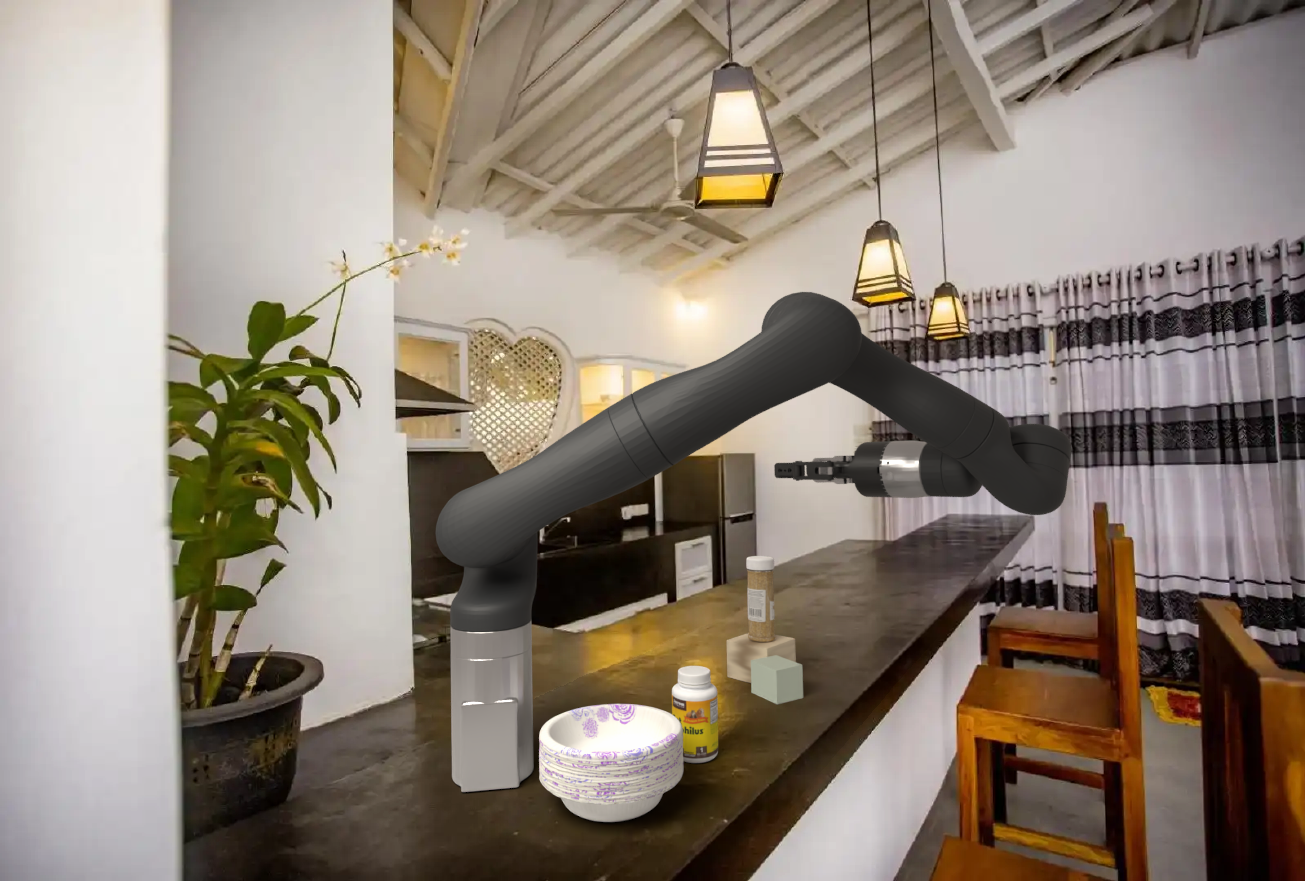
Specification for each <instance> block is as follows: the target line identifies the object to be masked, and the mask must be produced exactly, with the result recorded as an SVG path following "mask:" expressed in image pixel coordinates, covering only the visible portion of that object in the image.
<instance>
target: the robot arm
mask: <svg viewBox="0 0 1305 881" xmlns="http://www.w3.org/2000/svg"><path fill="white" fill-rule="evenodd" d="M827 384H831V385H833V386H836V387H838V388H840V389H842V390H844V391H845V392H848V393H850V395H854V396H855V397H857V398H859V399H860V400H861V401H863V402H865V403H866V404H868V405H869V406H871V407H873V408H874V409H876V411H878V412H880V413H882V414H883V415H885V416H886V417H887V418H888V419H890V420H892V421H893V422H894V423H896V424H897V425H899V426H900V427H901V428H903V429H904V430H906V431H907V432H909V433H910V434H912V435H913V436H915V437H917V438H918V439H919V440H921V441H919V440H894V441H893V440H891V441H887V440H886V441H864V442H863V443H862V442H861V444H859V445H858V446H857V447H856V449H855V451H854V453H853V455H834V456H833V457H814V458H813V459H812V460H811V461H803V460H795V461H793V462H776V463H775V464H774V465H773V466H774V467H773V468H774V477H775V478H776V479H793V480H794V481H798V482H799V481H813V482H815V483H817V484H818V483H834V484H836V485H847V484H854V486H855V489H856V491H858V493H859V494H860V495H861V496H864V497H866V498H892V499H893V498H899V499H901V498H903V499H905V498H906V499H917V498H924V497H928V498H930V497H931V498H933V497H934V498H935V497H937V498H938V497H940V498H942V497H943V498H945V497H946V498H969V497H972V496H975V495H976V494H978V492H979V491H980V490H981V488H982V487H983V488H984V489H985V490H987V492H988V493H989V494H990V495H991V496H992V497H993V498H994V499H996V501H998V502H999V503H1000V504H1002V505H1003V506H1005V507H1007V508H1008V509H1011V510H1013V511H1014V512H1017V513H1021V514H1024V515H1027V516H1028V515H1029V516H1042V515H1047V514H1051V513H1053V512H1055V511H1056V510H1058V509H1059V508H1060V506H1061V505H1062V504H1063V503H1064V500H1065V498H1066V493H1067V489H1068V488H1067V487H1068V479H1069V472H1070V466H1071V465H1070V463H1071V457H1072V444H1071V440H1070V438H1069V437H1068V436H1067V435H1066V434H1065V433H1064V432H1063V431H1062V430H1059V429H1058V428H1056V427H1053V426H1050V425H1047V424H1041V423H1024V424H1017V425H1014V426H1012V425H1011V426H1010V425H1009V424H1010V423H1009V422H1008V420H1007V418H1006V417H1005V416H1004V414H1002V413H1001V412H1000V411H998V410H997V409H995V408H993V407H992V406H990V405H988V404H987V403H985V402H983V401H982V400H980V399H978V398H976V396H974V395H971V394H970V393H969V392H966V391H964V390H963V389H961V388H959V387H957V386H956V385H954V384H952V383H950V382H948V381H947V380H944V379H943V378H941V377H938V376H937V375H934V374H933V373H931V372H929V371H926V370H924V369H923V368H921V367H918V366H917V365H914V364H913V363H910V362H909V361H907V360H905V359H903V358H901V357H899V356H898V355H897V354H894V353H892V352H890V351H889V350H887V349H886V348H884V347H883V346H881V345H880V344H878V343H876V342H875V341H873V340H872V339H870V338H869V337H868V336H867V335H865V334H864V333H862V327H861V324H860V322H859V320H858V318H857V316H856V315H855V314H854V312H853V311H852V310H850V308H848V307H847V306H846V305H844V304H843V303H841V302H840V301H838V300H837V299H833V298H830V297H829V296H826V295H823V294H820V293H817V292H813V291H799V292H793V293H790V294H788V295H787V294H786V295H785V296H783V297H781V298H779V299H777V300H776V301H775V302H774V303H773V304H772V305H771V306H770V307H769V308H768V309H767V311H766V312H765V314H764V317H763V320H762V323H761V331H760V333H758V334H756V335H755V336H754V337H752V338H750V339H749V340H748V341H746V342H744V343H743V344H741V345H740V346H738V347H737V348H735V349H734V350H732V351H731V352H729V353H726V355H723V356H721V357H720V358H718V359H715V360H714V361H711V362H709V363H706V364H704V365H700V366H697V367H694V368H690V369H687V370H685V371H682V372H679V373H676V374H673V375H670V376H667V377H663V378H661V379H659V380H656V381H654V382H652V383H649V384H646V385H645V386H643V387H641V388H638V389H637V390H635V391H634V392H632V393H630V394H629V395H627V396H625V397H623V398H622V399H620V400H618V401H617V402H615V403H613V404H611V405H610V406H608V407H606V408H604V409H603V410H601V411H600V412H598V413H597V414H596V415H594V416H592V417H591V418H590V419H588V420H586V421H585V422H583V423H581V424H580V425H578V426H577V427H575V428H574V429H573V430H571V431H569V432H568V433H567V434H565V435H564V436H562V437H561V438H559V439H558V440H556V441H555V442H553V443H552V444H550V445H549V446H548V447H546V448H545V449H544V450H542V451H540V452H539V453H538V454H536V455H534V456H533V457H530V458H529V459H527V460H526V461H523V462H522V463H520V464H518V465H516V466H513V467H512V468H509V469H508V470H505V471H503V472H501V473H499V474H496V475H495V476H493V477H490V478H488V479H486V480H484V481H482V482H479V483H477V484H474V485H472V486H470V487H469V486H468V488H464V489H462V490H461V491H459V492H457V493H456V494H454V495H453V496H452V497H451V498H450V499H449V500H448V501H447V502H446V504H445V505H444V507H443V508H442V510H441V511H440V513H439V515H438V518H437V521H436V525H435V539H436V544H437V546H438V548H439V550H440V552H441V553H442V554H443V556H444V557H446V558H447V559H448V560H449V561H450V562H452V563H454V564H456V565H459V566H461V567H463V577H462V582H461V584H460V586H459V589H458V591H457V593H456V595H455V596H454V598H453V599H452V601H451V604H450V610H449V612H450V614H449V618H450V622H449V624H450V625H449V626H450V701H451V702H450V706H451V707H450V709H451V711H450V712H451V713H450V715H451V716H450V718H451V721H450V722H451V723H450V724H451V725H450V726H451V731H450V732H451V734H450V735H451V778H452V781H453V782H454V783H455V784H456V785H457V786H459V787H460V790H461V792H462V793H466V792H467V793H469V792H480V791H489V790H500V789H501V790H502V789H510V788H511V789H512V788H513V789H514V788H518V787H519V786H520V783H521V782H522V781H524V780H525V779H527V778H528V777H529V776H530V775H531V774H532V773H533V771H534V724H533V723H534V720H533V719H534V718H533V716H534V715H533V713H534V712H533V709H534V706H533V653H532V651H533V649H532V648H533V647H532V645H533V639H532V638H533V637H532V636H533V634H532V633H533V632H532V627H533V626H532V609H533V608H532V607H533V602H534V599H535V595H536V591H537V583H538V582H537V579H538V575H537V573H538V532H539V531H541V530H542V529H544V528H545V527H547V526H549V525H551V524H552V523H553V522H555V521H557V520H559V519H560V518H563V517H564V516H567V515H568V514H570V513H573V512H575V511H578V510H580V509H583V508H585V507H588V506H591V505H593V504H596V503H599V502H602V501H603V500H607V499H609V498H611V497H614V496H617V495H618V494H621V493H623V492H625V491H628V490H630V489H633V488H634V487H637V486H639V485H640V484H643V483H644V482H646V481H649V480H650V479H652V478H653V477H655V476H657V475H659V474H660V473H663V472H664V471H666V470H668V469H669V468H672V467H673V466H674V465H677V464H678V463H679V462H681V461H682V460H685V459H686V458H687V457H689V456H690V455H692V454H694V453H695V452H697V451H699V450H701V449H703V448H705V447H706V446H707V445H709V444H712V443H713V442H714V441H717V440H718V439H720V438H721V437H723V436H725V435H726V434H728V433H730V432H731V431H732V430H734V429H736V428H737V427H739V426H740V425H742V424H743V423H745V422H746V421H748V420H750V419H753V418H755V417H756V416H758V415H759V414H760V415H761V413H764V412H766V411H768V410H770V409H773V408H774V407H777V406H779V405H782V404H783V403H786V402H788V401H791V400H793V399H795V398H797V397H800V396H802V395H804V394H807V393H809V392H811V391H813V390H814V391H815V390H816V389H818V388H820V387H823V386H825V385H827Z"/></svg>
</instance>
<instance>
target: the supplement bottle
mask: <svg viewBox="0 0 1305 881" xmlns="http://www.w3.org/2000/svg"><path fill="white" fill-rule="evenodd" d="M711 680H712V677H711V669H709V668H708V667H706V666H702V665H686V666H682V667H680V668H679V669H678V670H677V683H676V684H674V685H673V687H672V688H671V714H672V715H673V716H675V717H676V718H677V719H678V720H679V722H680V723H681V725H682V728H683V762H684V763H685V762H686V763H691V764H702V763H707V762H710V761H712V760H714V759H715V758H716V757H717V756H718V753H719V720H718V719H719V712H718V711H719V710H718V706H719V705H718V704H719V703H718V702H719V701H718V688H717V687H716V686H715V685H714V684H713V683H712V681H711Z"/></svg>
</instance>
